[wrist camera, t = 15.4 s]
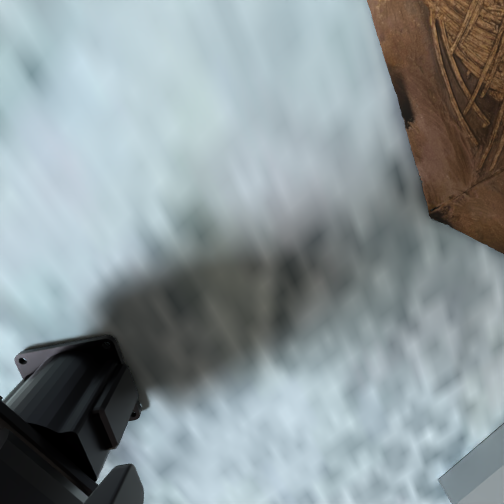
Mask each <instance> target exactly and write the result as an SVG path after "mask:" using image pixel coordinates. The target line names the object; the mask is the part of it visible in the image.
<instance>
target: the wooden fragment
mask: <svg viewBox="0 0 504 504" xmlns="http://www.w3.org/2000/svg"><path fill="white" fill-rule="evenodd" d="M367 2H368V5H369V8H370V11H371V14H372V18H373V22H374V26H375V29H376V32H377V36H378V38H379V41H380V45H381V48H382V51H383V55H384V58H385V62H386V64H387V68H388V71H389V74H390V76H391V80H392V83H393V86H394V89H395V92H396V94H397V97H398V101H399V106H400V109H401V112H402V117H403V119H404V122H405V128H406V131H407V134H408V138H409V143H410V145H411V150H412V153H413V156H414V159H415V164H416V166H417V168H418V171H419V176H421V178H420V180H422V181H423V183H422V186H423V191H424V195H425V198H426V201H427V205H428V210H429V211H430V210H431V209H433V208H436V207H439V206H440V205H441V206H440V207H439V208H437V209H435V210H433V211H430V212H429V216H430V217H431V218H432V219H434V220H437V221H438V222H441V223H444V224H445V225H446V224H448V225H449V226H450V227H452V228H454V229H456V230H458V231H460V232H462V233H464V234H466V235H468V236H470V237H472V238H473V239H475V240H477V241H479V242H481V243H483V244H486V245H488V246H489V247H491V248H494V249H495V250H497V251H499V252H501V253H503V254H504V0H367Z"/></svg>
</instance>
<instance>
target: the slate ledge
mask: <svg viewBox="0 0 504 504" xmlns="http://www.w3.org/2000/svg"><path fill="white" fill-rule="evenodd" d="M438 481H439V483H440V484H441V486H442V488H443V490H444V491H445V493H446V495H447V496H448V498H449V500H450V502H451V503H452V504H504V424H503V425H502V426H500V427H499V428H498V429H497V430H496V431H495V432H493V433H492V434H491V435H490V436H489V437H488V438H486V439H485V440H484V441H483V442H482V443H481V444H479V445H478V446H477V447H476V448H475V449H474V450H472V451H471V452H470V453H469V454H468V455H467V456H465V457H464V458H463V459H462V460H461V461H460V462H458V463H457V464H456V465H455V466H454V467H453V468H451V469H450V470H449V471H448V472H447V473H446V474H444V475H443V476H442V477H441V478H440V479H439V480H438Z"/></svg>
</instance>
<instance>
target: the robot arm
mask: <svg viewBox="0 0 504 504" xmlns="http://www.w3.org/2000/svg"><path fill="white" fill-rule="evenodd" d="M105 342H108V343H110V345H106V343H105ZM23 358H25V359H26V360H27V361H26V360H24V359H23ZM15 363H16V365H17V367H18V370H19V372H20V374H21V376H22V378H23V380H22V381H21V382H20V383H19V384H18V385H17V386H16V387H15V388H14V389H13V390H12V391H11V392H10V394H9V395H8V396H7V397H6V398H5V399H4V400H3V401H2V399H3V398H2V397H1V396H0V504H143V501H144V489H143V486H142V483H141V481H140V478H139V476H138V473H137V471H136V468H135V466H134V465H133V464H124V465H119V466H116V467H114V468H113V469H112V470H111V471H110V473H109V474H108V475H107V476H106V477H105V478H104V480H103V481H102V482H101V483H100V484H99V485H98V484H97V483H96V481H97V479H98V477H99V474H100V472H101V470H102V467H103V465H104V463H105V461H106V458H107V456H108V454H109V451H110V450H111V449H116V447H117V446H118V445H119V443H120V440H121V438H122V435H123V433H124V431H125V428H126V426H127V423H128V421H132V420H136V419H138V418H139V417H140V414H141V411H142V409H141V406H140V403H139V401H138V397H139V394H138V392H137V389H136V386H135V383H134V381H133V378H132V375H131V372H130V370H129V367H128V366H127V365H126V364H125V362H124V360H123V357H122V354H121V351H120V349H119V346H118V343H117V341H116V339H115V338H114V337H113V336H110V335H106V336H100V337H95V338H89V339H84V340H79V341H73V342H68V343H63V344H57V345H52V346H47V347H41V348H36V349H30V350H25V351H22V352H20V353H19V354H18V355H17V356H16V357H15ZM132 411H134V412H135V413H133V412H132Z"/></svg>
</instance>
